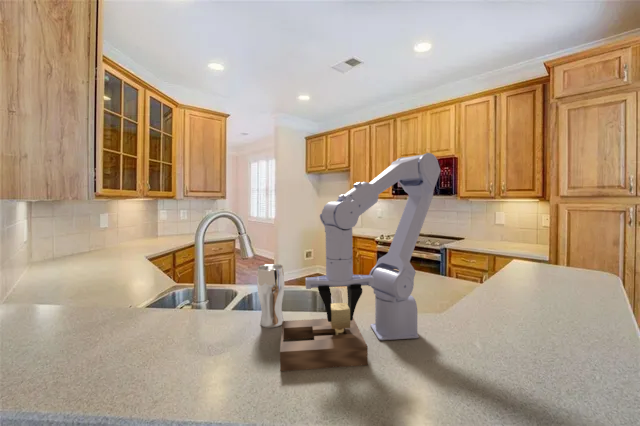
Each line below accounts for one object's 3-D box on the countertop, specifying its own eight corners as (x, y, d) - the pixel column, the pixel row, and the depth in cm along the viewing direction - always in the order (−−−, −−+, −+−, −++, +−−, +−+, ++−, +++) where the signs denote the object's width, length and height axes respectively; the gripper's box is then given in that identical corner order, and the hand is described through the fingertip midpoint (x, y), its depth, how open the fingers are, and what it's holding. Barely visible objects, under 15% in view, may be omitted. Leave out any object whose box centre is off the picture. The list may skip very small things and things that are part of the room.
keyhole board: (353, 332, 72) (352, 317, 72) (367, 365, 58) (367, 346, 58) (282, 336, 71) (282, 321, 71) (280, 371, 57) (279, 351, 57)
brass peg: (347, 340, 68) (346, 302, 67) (350, 349, 64) (350, 309, 63) (329, 341, 67) (329, 303, 67) (331, 350, 63) (331, 310, 63)
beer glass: (253, 326, 77) (251, 268, 76) (269, 315, 83) (267, 262, 82) (275, 330, 74) (273, 271, 73) (290, 320, 80) (288, 265, 79)
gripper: (367, 252, 68) (368, 310, 69) (304, 254, 67) (305, 313, 68) (376, 259, 61) (376, 323, 62) (306, 261, 60) (307, 327, 61)
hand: (339, 319), depth 65 cm, fingers closed on brass peg, 4 cm apart
